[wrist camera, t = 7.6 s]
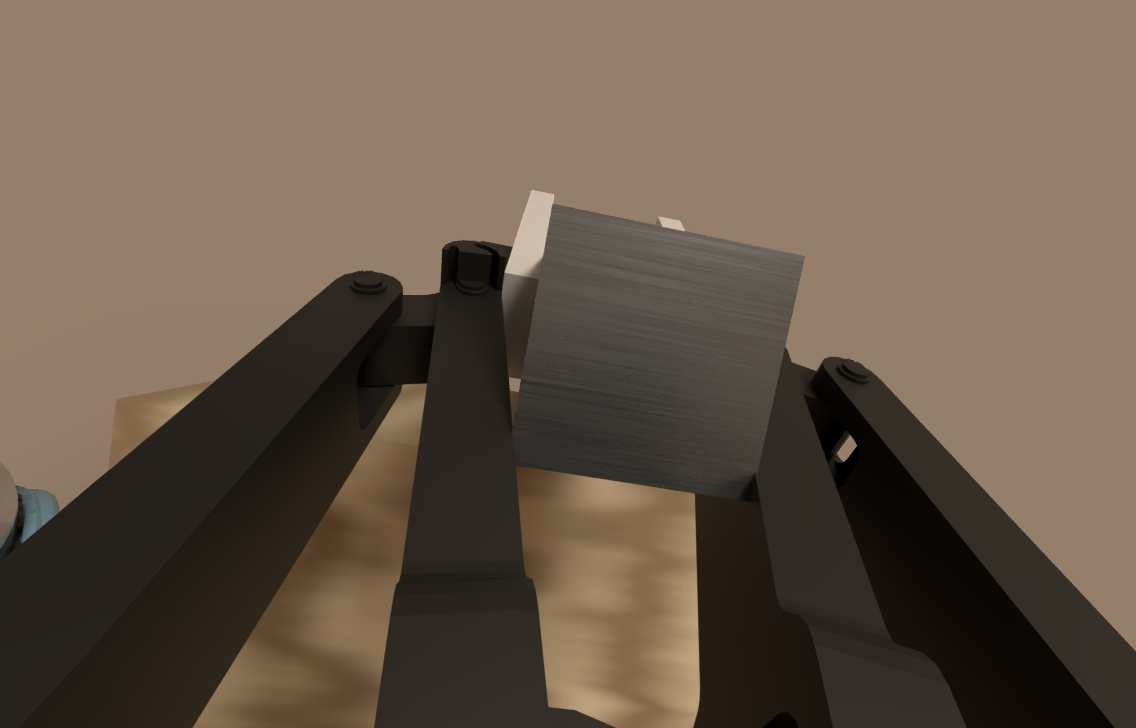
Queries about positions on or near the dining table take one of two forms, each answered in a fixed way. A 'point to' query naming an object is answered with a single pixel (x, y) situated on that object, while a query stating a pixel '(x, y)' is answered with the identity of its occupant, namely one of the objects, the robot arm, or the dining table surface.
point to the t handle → (652, 355)
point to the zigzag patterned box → (551, 559)
